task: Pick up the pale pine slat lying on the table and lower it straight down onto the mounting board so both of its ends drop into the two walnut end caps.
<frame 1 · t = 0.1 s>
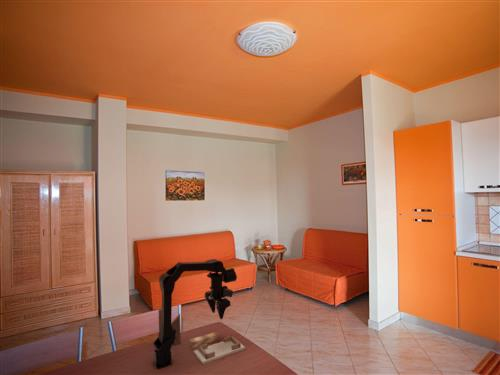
hand: (217, 315, 148), 14 cm above the table, fingers open, 9 cm apart
slat: (204, 342, 150), on the table
slat board: (219, 350, 142), on the table
wooden block: (169, 343, 151), on the table
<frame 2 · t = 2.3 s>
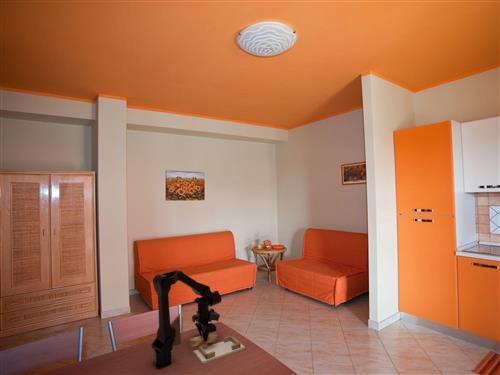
hand: (204, 339, 151), 1 cm above the table, fingers closed on slat, 4 cm apart
slat: (204, 342, 150), on the table, touching gripper
everything else where it was.
when the fingers open (3 cm above the table, at t = 7.7 s): slat stays where it is, resting on slat board.
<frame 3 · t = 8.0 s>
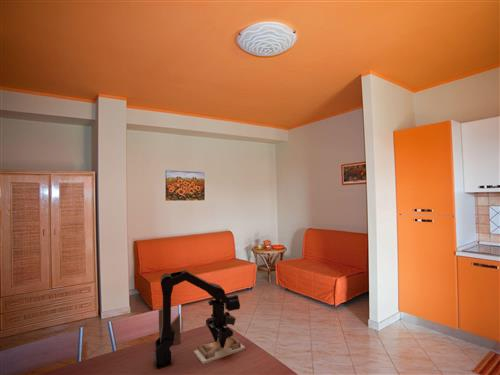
hand: (219, 344, 142), 3 cm above the table, fingers open, 7 cm apart
slat: (219, 348, 142), point 1 cm above the table, touching slat board
everything else where it was.
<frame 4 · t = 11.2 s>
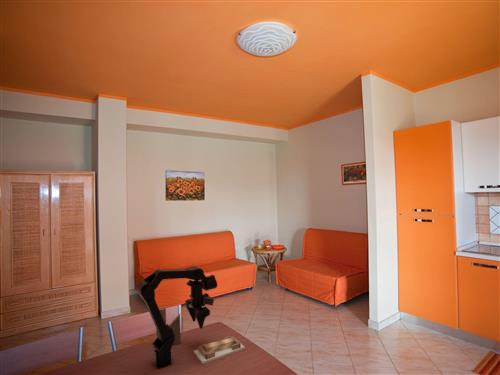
hand: (197, 324, 144), 12 cm above the table, fingers open, 9 cm apart
nothing on the table moved.
at the end: slat 0.0 cm off-centre on the slat board, point 1.0 cm above the slat board's base; slat tilted 0°; the gripper is holding nothing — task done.
